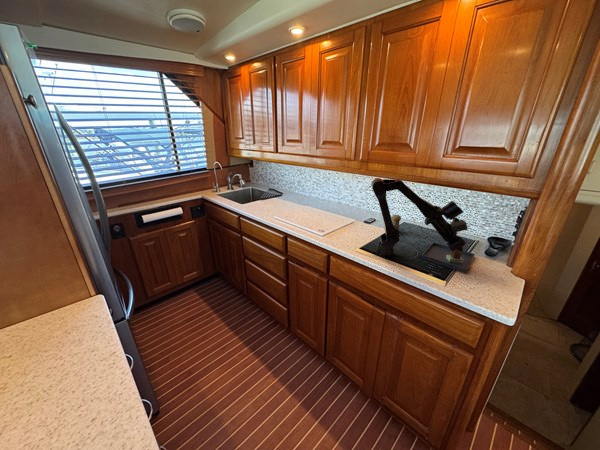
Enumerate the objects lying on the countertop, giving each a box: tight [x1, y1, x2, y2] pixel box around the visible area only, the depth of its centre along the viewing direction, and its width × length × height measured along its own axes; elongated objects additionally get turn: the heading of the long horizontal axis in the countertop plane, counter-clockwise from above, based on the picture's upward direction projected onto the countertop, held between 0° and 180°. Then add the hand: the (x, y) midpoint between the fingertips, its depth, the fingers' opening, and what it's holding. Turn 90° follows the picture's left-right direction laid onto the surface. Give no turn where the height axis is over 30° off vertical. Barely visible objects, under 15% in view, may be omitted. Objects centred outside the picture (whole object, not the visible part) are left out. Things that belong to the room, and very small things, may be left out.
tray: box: [420, 241, 476, 274], centre depth 117 cm, size 19×19×2 cm
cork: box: [391, 214, 402, 230], centre depth 143 cm, size 6×6×11 cm
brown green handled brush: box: [446, 245, 465, 263], centre depth 112 cm, size 6×4×10 cm, turn 82°
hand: (460, 249), depth 111 cm, fingers closed on brown green handled brush, 3 cm apart
